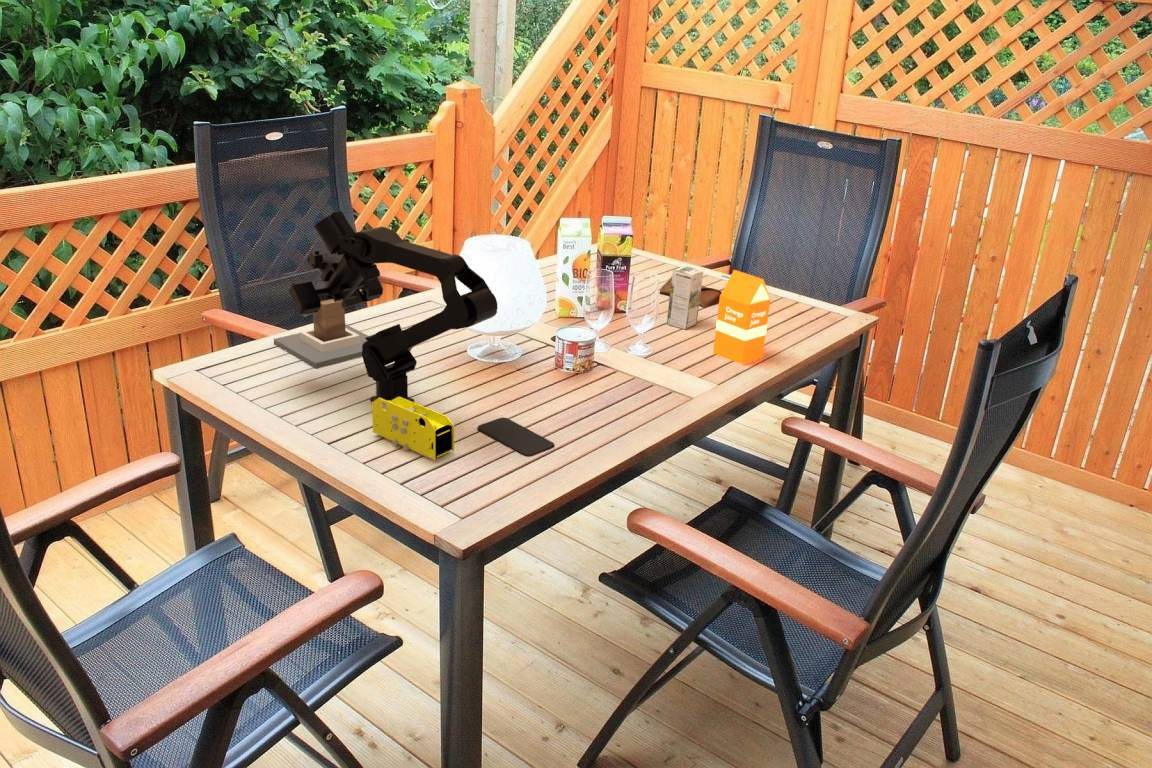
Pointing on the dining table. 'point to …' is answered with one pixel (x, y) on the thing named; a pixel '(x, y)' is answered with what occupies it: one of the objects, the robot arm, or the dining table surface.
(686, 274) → the syrup box
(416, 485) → the dining table surface
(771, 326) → the dining table surface
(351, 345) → the socket plate
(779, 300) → the dining table surface
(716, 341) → the orange juice
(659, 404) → the dining table surface
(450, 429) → the yellow toy chassis
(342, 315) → the walnut block
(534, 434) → the phone
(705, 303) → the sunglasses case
